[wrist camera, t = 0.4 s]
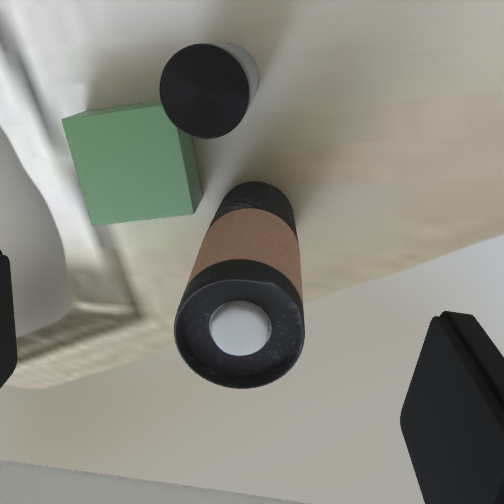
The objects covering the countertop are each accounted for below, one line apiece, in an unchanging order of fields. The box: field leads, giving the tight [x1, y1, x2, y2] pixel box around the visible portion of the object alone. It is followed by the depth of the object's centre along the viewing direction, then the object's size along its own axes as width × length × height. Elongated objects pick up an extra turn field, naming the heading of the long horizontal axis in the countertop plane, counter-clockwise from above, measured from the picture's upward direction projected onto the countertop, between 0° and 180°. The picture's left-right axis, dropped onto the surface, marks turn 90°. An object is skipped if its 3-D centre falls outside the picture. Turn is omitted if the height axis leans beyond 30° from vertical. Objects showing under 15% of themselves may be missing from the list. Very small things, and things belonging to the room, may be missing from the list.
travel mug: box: [174, 182, 305, 389], centre depth 36 cm, size 8×8×20 cm
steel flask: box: [160, 44, 259, 139], centre depth 34 cm, size 5×5×13 cm
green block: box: [62, 100, 203, 226], centre depth 41 cm, size 9×9×5 cm
